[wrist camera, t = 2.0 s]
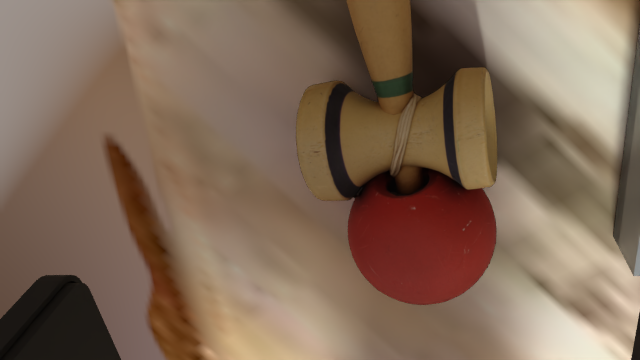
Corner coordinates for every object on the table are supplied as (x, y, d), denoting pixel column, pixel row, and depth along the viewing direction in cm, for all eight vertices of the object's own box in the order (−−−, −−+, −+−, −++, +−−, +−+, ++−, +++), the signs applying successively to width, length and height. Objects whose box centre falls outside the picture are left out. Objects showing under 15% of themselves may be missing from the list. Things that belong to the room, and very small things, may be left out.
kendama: (241, -130, 21) (339, 275, 27) (203, -179, 15) (341, 356, 21) (440, -184, 20) (499, 245, 26) (483, -258, 14) (548, 320, 20)
